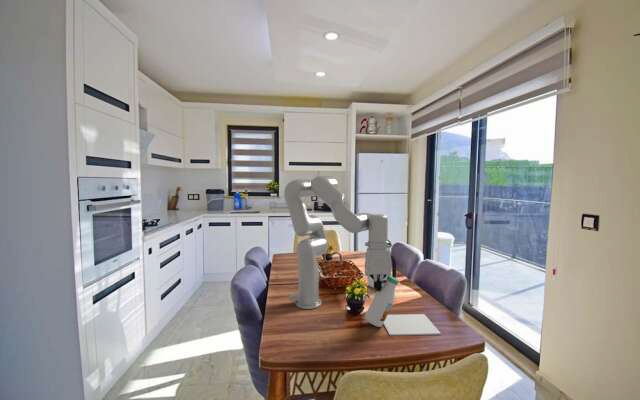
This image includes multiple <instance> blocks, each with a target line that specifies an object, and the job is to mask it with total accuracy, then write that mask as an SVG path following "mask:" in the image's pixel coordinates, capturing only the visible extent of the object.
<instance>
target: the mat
mask: <svg viewBox="0 0 640 400" xmlns="http://www.w3.org/2000/svg"><path fill="white" fill-rule="evenodd" d="M383 326H384V327H385V329H386V331H387V332H388V335H389V337H390V336H391V337H392V336H424V335H425V336H428V335H432V336H433V335H434V336H435V335H437V336H438V335H442V333H441V332H440V331H439V329H438V328H437V327H436V326H435V325H434V323H433V322H432V321H431V320H430V319H429V318H428V317H427V315H426V314H425V313H423V314H422V313H421V314H420V313H419V314H418V313H417V314H414V313H412V314H411V313H410V314H409V313H408V314H388V315H387V317H386V319H385V321H384V323H383Z"/></svg>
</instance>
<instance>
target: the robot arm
mask: <svg viewBox="0 0 640 400" xmlns="http://www.w3.org/2000/svg"><path fill="white" fill-rule="evenodd" d="M283 193H284V194H283V197H284V201H285V203H286V206H287V209H288V212H289V215H290V219H291V223H292V227H293V231H294V233H295V235H296V236H297V237H302V238H303V237H307V236H309V237H308V238H304V239H302V240H300V241H299V242H298V243H297V244H296V250H295V251H296V256H297V264H298V265H297V266H298V267H297V268H298V293H297V294H295V295H294V294H290V295H289V296H288V300H291V302H293V301H294V305H295V306H296V307H298V308H299V309H303V310H312V309H317V308H319V307H321V306H322V300H321V298H319V264H318V262H317V259H316V258H317V257H318V256H319V257H320V256H322V255H325V254H326V253H327V251H328V249H329V242H328V238H327V234H326V231H325V227H324V224H323V221H322V220H321V219H320V217H319V216H317V215H313V214H310V215H309V212H308V210H307V205H306V203H304V200H302V198H308V197H318V198H320V200H322V201H323V202H324V203H325V204H326V205H327V206H328V207H329V208H330V209H331V213H332V216H333V218H334V219H335V220H336V222H337V223H338V224H339V225H340V226H341V227H342V228H343V229H344V230H345V231H347V232H349V233H352V234H358V233H361V232H365V231H368V240H367V242H364V246H365V247H367V248H366V250H365V258H364V276H365V277H367V278H368V277H371V278H372V279H373V280H374V288H373V289H375V292H376V291H381V288H382V281H383V279H384V278H385V277H386V276H392V260H391V254H392V253H391V254H390V249H389V248H387V246H388V240H389V238H388V232H389V229H388V225H389V224H388V223H389V220H388V216H387V215H385V214H376V213H375V214H373V213H368V212H360V213H353V212H352V211H351V210H350V209H349V208H348V207H347V206H346V205H345V203H344V201H345V200H346V195H345V194H344V192H342V191H341V189H339V184H338V181H337V180H336V179H335V178H334V177H333V176H329V175H328V176H325V175H319V176H316V177H314V178H313V179H304V178H303V179H302V178H300V179H292V180H291V181H289V182H288V183H287V184H286V186H285V187H284V192H283ZM376 275H379V277H378V280H377V276H376Z"/></svg>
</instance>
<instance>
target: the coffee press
mask: <svg viewBox="0 0 640 400" xmlns="http://www.w3.org/2000/svg"><path fill="white" fill-rule="evenodd" d="M392 246H393V244H392V242H391V240H389V239H388V246H387V248H389V249H390V254H391V265H392V272H391V276H392V277H394V278H396V279H397V262H396V258H395V256H394V255H393V253H392ZM376 276H377V280H378V277H379V275H376ZM387 277H388V276H386V277H385V278H384V279H383V281H382V286H383V285H384V284H385V283H386V280H387ZM366 284H367V285H366V286H367V287H366V288H369V287H371V288H373V289H375V288H374V280H373V279H372V278H371V277H368V276H367V282H366ZM376 292H377V291H376V290H375V293H376Z"/></svg>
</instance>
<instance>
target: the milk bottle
mask: <svg viewBox="0 0 640 400" xmlns="http://www.w3.org/2000/svg"><path fill="white" fill-rule="evenodd" d="M399 282H400V281H399V280H398V279H397V277H396V278H394V277H392V275H391V276H388V277H387V280H386V283H385V284H384V285H383V286H382V288H381V291H377V292H376V291H375V295H374V296H373V298H372V299H371V302H370V304H369V306H368V309H367V311H366V313H365V315H364V318H365V320H366V322H368V323H369V324H371V325H372V326H374V327H378V328H381V327H383V326H384V324H383V323H384V321H385V319H386V317H387V315H389V313H390V310H391V308H392V306H393V304H394V301H395V297H396V294H395V293H396V287H397V286H398V284H399Z"/></svg>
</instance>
